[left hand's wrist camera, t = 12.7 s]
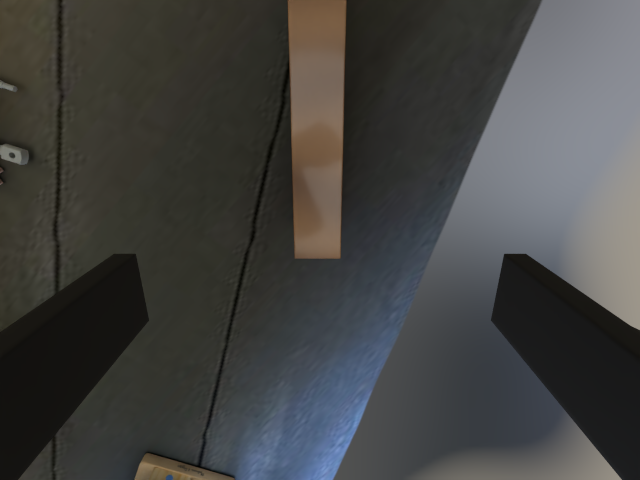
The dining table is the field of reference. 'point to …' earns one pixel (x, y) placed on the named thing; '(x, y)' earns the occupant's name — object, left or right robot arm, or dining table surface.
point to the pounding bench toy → (173, 470)
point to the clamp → (8, 150)
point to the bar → (317, 124)
